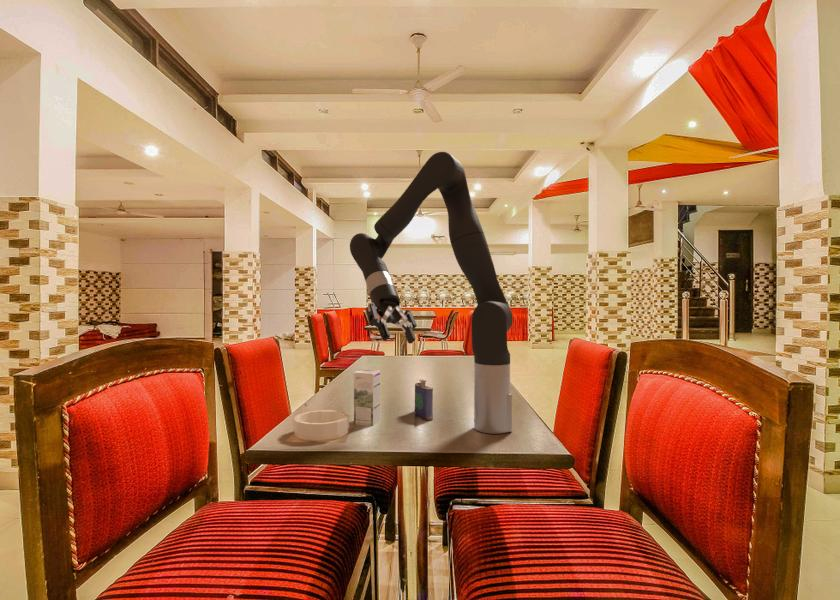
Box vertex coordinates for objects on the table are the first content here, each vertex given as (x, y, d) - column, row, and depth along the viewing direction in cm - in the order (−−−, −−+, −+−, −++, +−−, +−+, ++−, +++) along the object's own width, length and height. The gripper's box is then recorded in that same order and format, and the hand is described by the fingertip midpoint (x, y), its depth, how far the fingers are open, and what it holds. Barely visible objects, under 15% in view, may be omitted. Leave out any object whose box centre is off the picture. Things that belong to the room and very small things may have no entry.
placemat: (354, 427, 117) (354, 425, 117) (345, 444, 103) (345, 442, 103) (301, 427, 117) (301, 424, 117) (284, 444, 103) (284, 441, 103)
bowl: (352, 425, 117) (352, 410, 117) (343, 441, 104) (343, 424, 104) (302, 425, 117) (302, 410, 117) (287, 441, 104) (287, 424, 104)
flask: (434, 420, 125) (434, 381, 124) (425, 421, 123) (424, 382, 123) (420, 412, 133) (420, 376, 133) (411, 413, 132) (411, 377, 132)
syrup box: (381, 422, 122) (381, 369, 122) (373, 428, 117) (373, 372, 117) (361, 420, 124) (361, 368, 124) (352, 426, 118) (353, 371, 118)
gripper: (368, 278, 116) (386, 329, 108) (409, 287, 126) (428, 335, 117) (353, 295, 120) (369, 346, 112) (394, 303, 130) (411, 350, 121)
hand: (399, 340), depth 114 cm, fingers open, 8 cm apart
